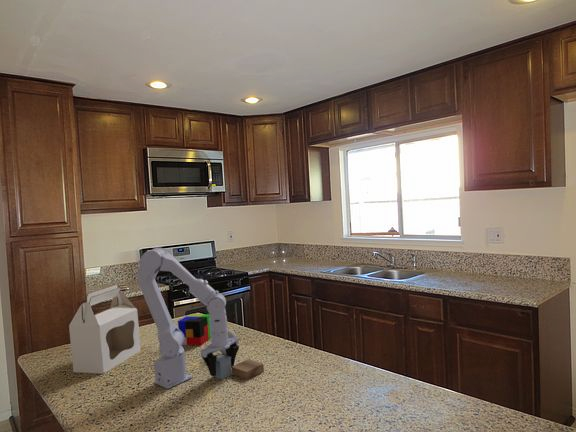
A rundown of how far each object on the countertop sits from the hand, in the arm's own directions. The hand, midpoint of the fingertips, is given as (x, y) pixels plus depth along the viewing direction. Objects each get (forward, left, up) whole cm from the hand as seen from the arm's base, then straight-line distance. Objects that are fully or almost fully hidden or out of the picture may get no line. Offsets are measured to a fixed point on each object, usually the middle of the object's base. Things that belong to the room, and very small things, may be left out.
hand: (222, 371), depth 134 cm
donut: (+13, +13, -2) cm, 18 cm away
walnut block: (+6, -6, -2) cm, 9 cm away
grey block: (0, 0, -2) cm, 2 cm away
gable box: (-16, +49, -2) cm, 52 cm away
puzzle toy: (+16, +37, -2) cm, 40 cm away
